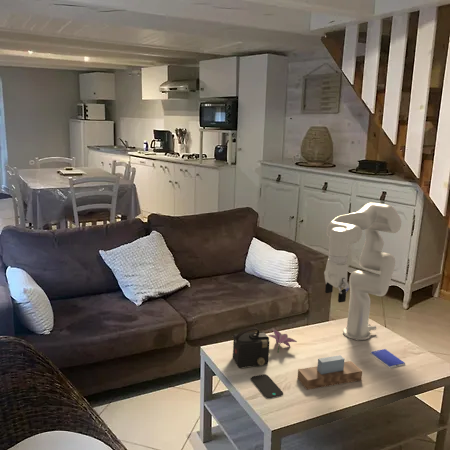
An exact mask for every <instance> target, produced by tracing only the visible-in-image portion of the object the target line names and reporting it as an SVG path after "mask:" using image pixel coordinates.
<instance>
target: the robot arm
mask: <svg viewBox="0 0 450 450" xmlns="http://www.w3.org/2000/svg"><path fill="white" fill-rule="evenodd" d="M401 227H402V219H401V216H400V214H399V213H398V211H397V210H396V208H394V207H393V205H389V204H384V203H377V202H368V203H365V204H364V205H363V206H361V207H360V208H359V209H358V210H357V211H356V212H350V213H347V214H341V215H338V216H336V217H335V218H334V219H332V220H331V221H330V222H329V223H328V224H327V227H326V230H325V232H326V235H327V237H328V238H329V243H328V258H327V261H326V266H325V270H324V271H323V275H324V283H325V288H324V289H325V291H324V293H325V294H329V293H333V290H334V289H333V288H336V289H337V290H338V295H337V296H338V297H337V302H338V303H345V302H346V298H347V293H348V292H349V302H348V311H347V313H348V314H347V321H346V323H347V324H346V327H344V328H343V329H342V334H343V335H344V336H345V337H346V338H348V339H351V340H356V341H365V340H369V339H370V338H371V331H375V330H377V326H376V325H371V324H369V319H370V311H371V301H372V300H371V298H370V295H373V296H377V297H384V296H386V294H387V293H388V291H389V288H390V283H391V280H392V276H393V275H394V270H395V266H396V258H395V256H394V255H393V254H391V253H389V252H384V251H383V248H384V244H385V242H384V239H383V236H382V235H381V233H380V232H383V233H389V234H396V233H398V232H399V231H400V229H401ZM363 231H364V234H365V235H364V236H365V241H364V244H363V247H362V249H361V253H360V256H359V259H358V260H359V261H358V264H359V266H360V268H362V269H363V270H361V269H358V270H354V271H352V272H351V273H350V275H349V279H348V264H347V263H348V258H349V257H348V256H349V255H348V253H349V245H352V244H356V243H359V241H360V240H361V239H362V237H363ZM366 270H368V271H366ZM371 271H372V272H371ZM374 272H376V273H374ZM378 273H379V274H378ZM348 280H349V281H348ZM342 288H343V289H342Z"/></svg>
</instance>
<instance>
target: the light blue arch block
mask: <svg viewBox="0 0 450 450" xmlns="http://www.w3.org/2000/svg"><path fill="white" fill-rule="evenodd" d="M345 361H346V360H345V358H344V357H343V356H342V355H341V354H338V355H333V356H327V357H321V358H320V357H319V358H317V366H316V367H317V371H318V372H319V373H320V374H321V375H322V374H327V373H331V372H340V371H343V370H344V362H345Z"/></svg>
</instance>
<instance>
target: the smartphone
mask: <svg viewBox="0 0 450 450" xmlns="http://www.w3.org/2000/svg"><path fill="white" fill-rule="evenodd" d="M250 381H251V382H252V384H253V385H254V386H255V387H256V388H257V390H258V391H259V392H260V393H261V394H262V396H263V397H264V398H265V399H267V400H270V399H275V398H280V397H283V396H284V392H283V390H282V389H281V388H280V387H279V386H278V385H277V384H276V383H275V382H274V381H273V380H272V378H271V377H270V376H269V375H268V374H267V373H266V374H265V373H264V374H259V375H254V376H251V377H250Z"/></svg>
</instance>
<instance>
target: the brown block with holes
mask: <svg viewBox="0 0 450 450" xmlns="http://www.w3.org/2000/svg"><path fill="white" fill-rule="evenodd" d="M362 378H363V370H362V369H361V368H359V366H357V365H356V364H355V363H354V362H352V360H348V361H344V370H343V371H340V372H331V373H327V374H322V375H321V374H320V373H319V372H318V371H317V366H311V367H305V368H299V369H297V380H298V381H299V382H300V383H301V385H302V386H303V387H304V389H306V390H312V389H313V390H314V389H319V388H324V387H331V386H336V385H337V386H338V385H341V384H342V385H343V384H348V383H354V382H358V381H362Z"/></svg>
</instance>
